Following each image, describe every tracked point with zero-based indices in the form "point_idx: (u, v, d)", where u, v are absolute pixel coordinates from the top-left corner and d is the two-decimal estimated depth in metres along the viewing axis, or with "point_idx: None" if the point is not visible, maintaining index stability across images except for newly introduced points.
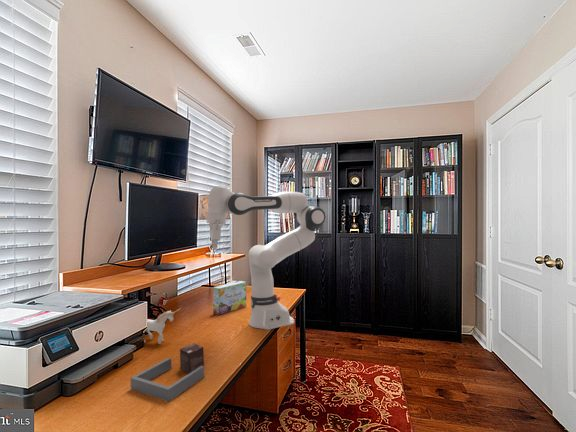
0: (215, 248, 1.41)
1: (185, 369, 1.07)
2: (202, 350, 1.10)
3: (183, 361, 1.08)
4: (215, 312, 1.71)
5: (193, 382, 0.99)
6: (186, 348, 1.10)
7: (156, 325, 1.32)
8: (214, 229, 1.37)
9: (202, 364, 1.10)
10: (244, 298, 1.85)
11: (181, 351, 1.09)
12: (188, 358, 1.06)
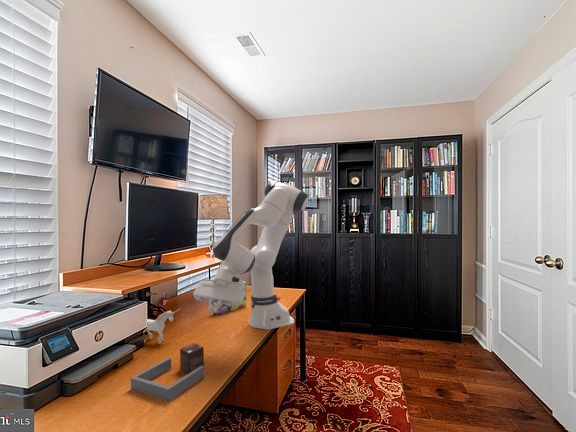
0: None
1: (185, 369, 1.07)
2: (202, 350, 1.10)
3: (183, 361, 1.08)
4: None
5: (193, 382, 0.99)
6: (186, 348, 1.10)
7: (156, 325, 1.32)
8: None
9: (202, 364, 1.10)
10: (244, 298, 1.85)
11: (181, 351, 1.09)
12: (188, 358, 1.06)
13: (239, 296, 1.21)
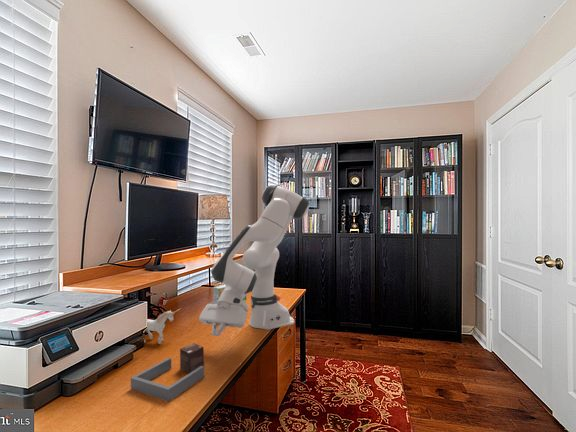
0: None
1: (185, 369, 1.07)
2: (202, 350, 1.10)
3: (183, 361, 1.08)
4: None
5: (193, 382, 0.99)
6: (186, 348, 1.10)
7: (156, 325, 1.32)
8: None
9: (202, 364, 1.10)
10: (244, 298, 1.85)
11: (181, 351, 1.09)
12: (188, 358, 1.06)
13: (239, 318, 1.18)
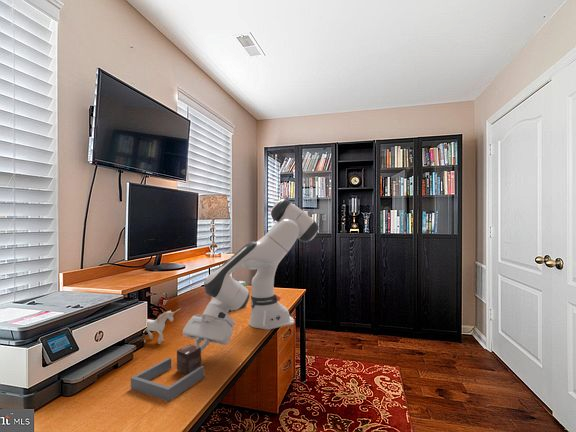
0: None
1: (182, 371, 1.06)
2: (199, 351, 1.09)
3: (180, 362, 1.07)
4: None
5: (193, 382, 0.99)
6: (183, 349, 1.08)
7: (156, 325, 1.32)
8: None
9: (199, 365, 1.09)
10: None
11: (178, 353, 1.07)
12: (185, 359, 1.05)
13: (223, 335, 1.11)
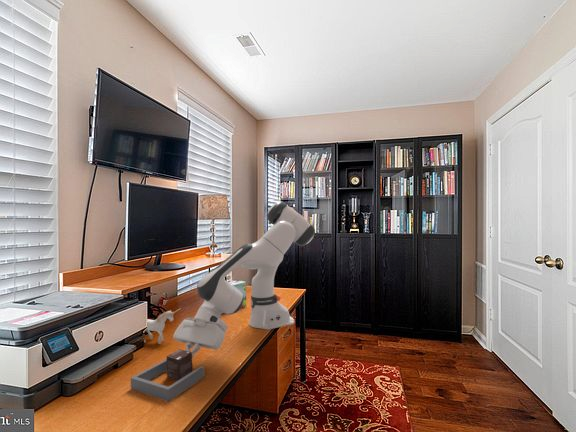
0: None
1: (173, 377, 1.02)
2: (191, 355, 1.06)
3: (171, 369, 1.03)
4: None
5: (193, 382, 0.99)
6: (173, 355, 1.04)
7: (156, 325, 1.32)
8: None
9: (191, 370, 1.06)
10: (244, 298, 1.85)
11: (168, 359, 1.03)
12: (177, 365, 1.01)
13: (215, 339, 1.07)
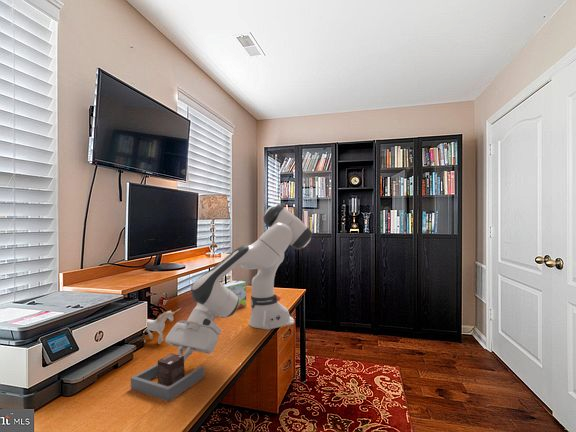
0: None
1: (165, 382, 0.99)
2: (183, 360, 1.03)
3: (162, 373, 0.99)
4: None
5: (193, 382, 0.99)
6: (165, 359, 1.01)
7: (156, 325, 1.32)
8: None
9: (183, 374, 1.03)
10: (244, 298, 1.85)
11: (159, 363, 1.00)
12: (168, 370, 0.98)
13: (207, 343, 1.04)
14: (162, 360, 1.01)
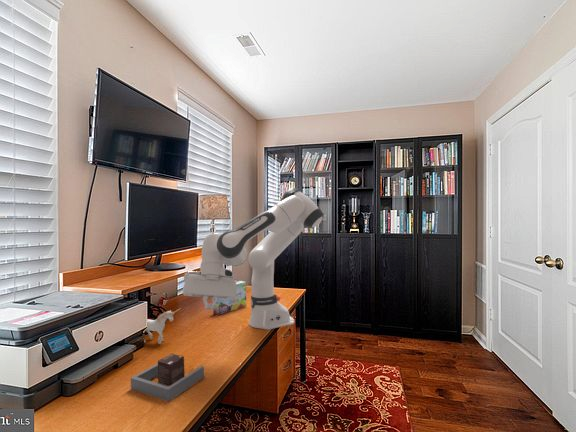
0: (205, 306, 1.14)
1: (165, 382, 0.99)
2: (183, 360, 1.03)
3: (162, 374, 0.99)
4: (215, 312, 1.71)
5: (193, 382, 0.99)
6: (165, 359, 1.01)
7: (156, 325, 1.32)
8: None
9: (183, 375, 1.03)
10: (244, 298, 1.85)
11: (159, 363, 1.00)
12: (168, 370, 0.98)
13: (235, 291, 1.21)
14: (162, 360, 1.01)
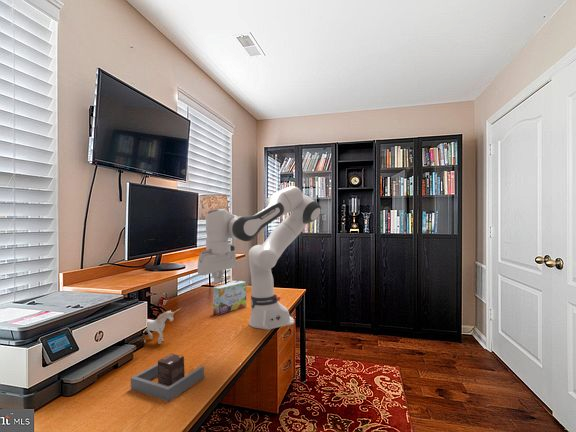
0: (216, 281, 1.24)
1: (165, 382, 0.99)
2: (183, 360, 1.03)
3: (162, 374, 0.99)
4: (215, 312, 1.71)
5: (193, 382, 0.99)
6: (165, 359, 1.01)
7: (156, 325, 1.32)
8: (198, 262, 1.18)
9: (183, 375, 1.03)
10: (244, 298, 1.85)
11: (159, 363, 1.00)
12: (168, 370, 0.98)
13: (235, 262, 1.34)
14: (162, 360, 1.01)
